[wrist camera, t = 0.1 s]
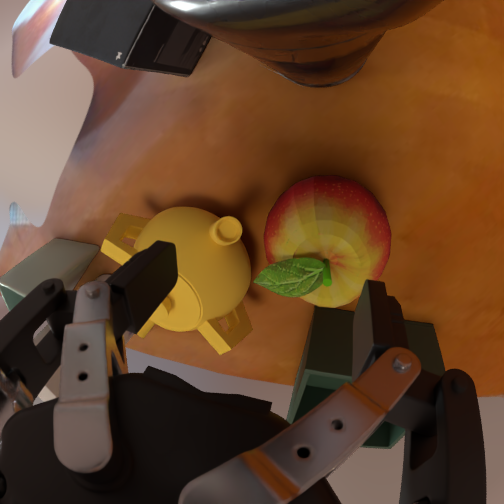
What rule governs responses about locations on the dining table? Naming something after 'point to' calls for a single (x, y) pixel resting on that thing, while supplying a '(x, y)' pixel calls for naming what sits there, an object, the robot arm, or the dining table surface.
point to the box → (129, 35)
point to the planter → (47, 268)
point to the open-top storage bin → (350, 365)
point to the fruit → (325, 241)
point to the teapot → (193, 271)
